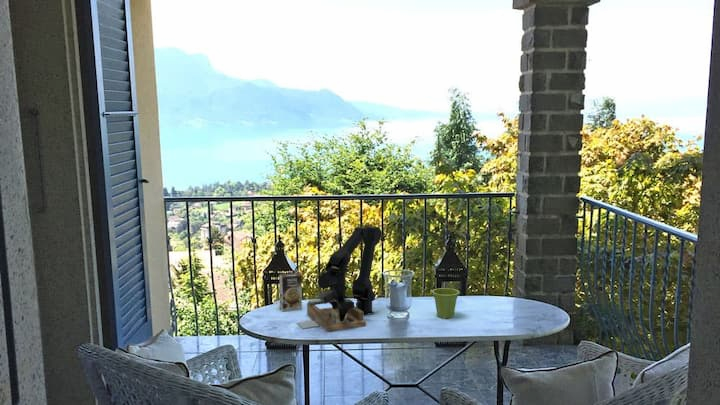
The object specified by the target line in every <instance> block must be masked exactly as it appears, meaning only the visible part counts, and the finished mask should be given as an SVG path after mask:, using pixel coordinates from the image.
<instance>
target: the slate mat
mask: <svg viewBox="0 0 720 405" xmlns="http://www.w3.org/2000/svg"><path fill="white" fill-rule="evenodd" d="M296 325H297V326H299V327H300V328H301V329H302V330H307V329H313V328H318V327H321V326H320V325H319V324H318V323H317V322H315V321H314V320H308V321H307V320H306V321H300V322H296Z"/></svg>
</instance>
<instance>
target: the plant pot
mask: <svg viewBox="0 0 720 405" xmlns="http://www.w3.org/2000/svg"><path fill="white" fill-rule="evenodd" d="M431 292H432V294H433V297H434V301H435V302H434V303H435V308H436V315H437V317H439V318H442V319H448V318H449V319H450V318H453V317H454V316H455V311H456V304H457V299H458V295H459V294H460V291H459V290H458V289H455V288H448V287H444V288H443V287H441V288H439V287H438V288H434V289H432V291H431Z"/></svg>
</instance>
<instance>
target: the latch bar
mask: <svg viewBox="0 0 720 405" xmlns="http://www.w3.org/2000/svg"><path fill="white" fill-rule="evenodd" d="M346 299H347V298H346ZM346 299H344V300H346ZM307 301H308V302H307V303H308V304H310V305H315V306H317V305H323V304H324V303H323V302H321V300H320V298H319V299H314V300H307ZM327 304H330V303H329V302H328V303H327ZM324 305H325V304H324Z"/></svg>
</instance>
